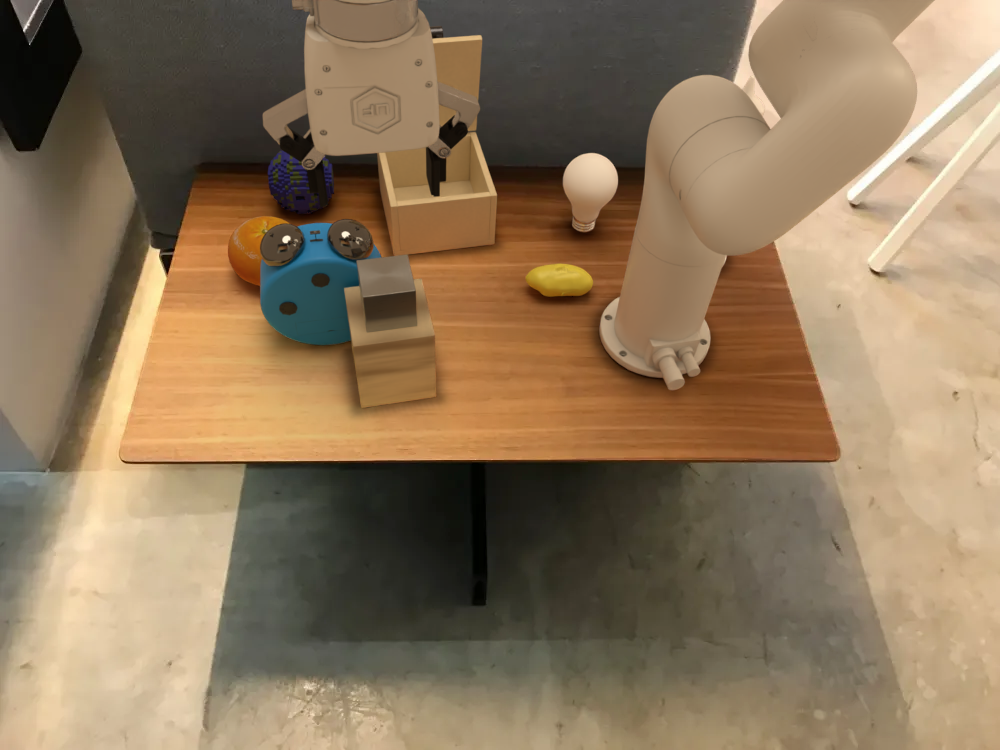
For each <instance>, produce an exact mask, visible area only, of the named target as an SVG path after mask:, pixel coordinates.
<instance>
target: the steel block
mask: <svg viewBox="0 0 1000 750" xmlns="http://www.w3.org/2000/svg"><path fill="white" fill-rule="evenodd" d="M381 257H382V258H373V259H365V260H357V261H356V262H357V271H358V279H359V288H360V297H361V302H362V308H363V314H364V320H365V326H366V332H367V333H368V332H375V331H383V330H390V329H397V328H405V327H412V326H417V304H416V288H415V284H414V280H413V279H414V275H413V272H412V267H411V263H410V258H409V254H408V255H398V256H394V255H390V256H381Z"/></svg>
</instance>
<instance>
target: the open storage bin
mask: <svg viewBox="0 0 1000 750" xmlns="http://www.w3.org/2000/svg"><path fill="white" fill-rule="evenodd" d="M376 155H377V168H378V169H377V170H378V182H379V192H380V196H381V201H382V207H383V210H384V215H385V221H386V226H387V230H388V235H389V240H390V244H391V248H392V253H393V256H398V255H408V256H409V255H415V254H424V253H434V252H441V251H449V250H458V249H465V248H473V247H474V248H475V247H483V246H484V247H485V246H491V245H492V246H493V245H495V241H496V240H495V239H496V224H497V222H496V221H497V208H498V207H497V206H498V194H497V191H496V188H495V185H494V182H493V178H492V176H491V173H490V171H489V167H488V164H487V161H486V158H485V155H484V151H483V150H482V146H481V143H480V141H479V137H478V135H477V132H476V131H468V133H467V135H466V136H465V137H464V138H463V139H462V140H461V141H460V142H459V143H457V144H456V145H455V146H454V147H453V148H452V149H451V154H450V156H449V157H447V158H446V181H445V182H440V196H437V197H434V196H433V195H431V192H430V188H429V184H428V180H427V176H426V147H425V148H422V149H415V150H406V151H395V152H383V153H376Z"/></svg>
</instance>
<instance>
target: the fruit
mask: <svg viewBox="0 0 1000 750" xmlns="http://www.w3.org/2000/svg"><path fill="white" fill-rule="evenodd" d="M284 223H287V224H291V223H290V222H288V221H286V220H285V219H283V218H279V217H276V216H271V215H263V216H262V215H261V216H256V217H252V218H250V219H247V220H246V221H243V223H241V224H239V226H238V227H236V229H234V230H233V231H232V233H231V236H230V237H229V240H228V244H227V259H228V262H229V263H230V266H231V268H232V269H233V271H234V272H235V273H236V275H237V276H238V277H239V278H241V279H242V280H243V281H245V282H246V283H247V282H248V283H250V284H252V285H255V286H258V287H260V266H261V260H262V257H261V255H260V243H261V240H262V238H263V236H264V235H265V233H266V232H267V231H268V230H269V229H271V228H272V227H274V226H276V225H279V224H284Z"/></svg>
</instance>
